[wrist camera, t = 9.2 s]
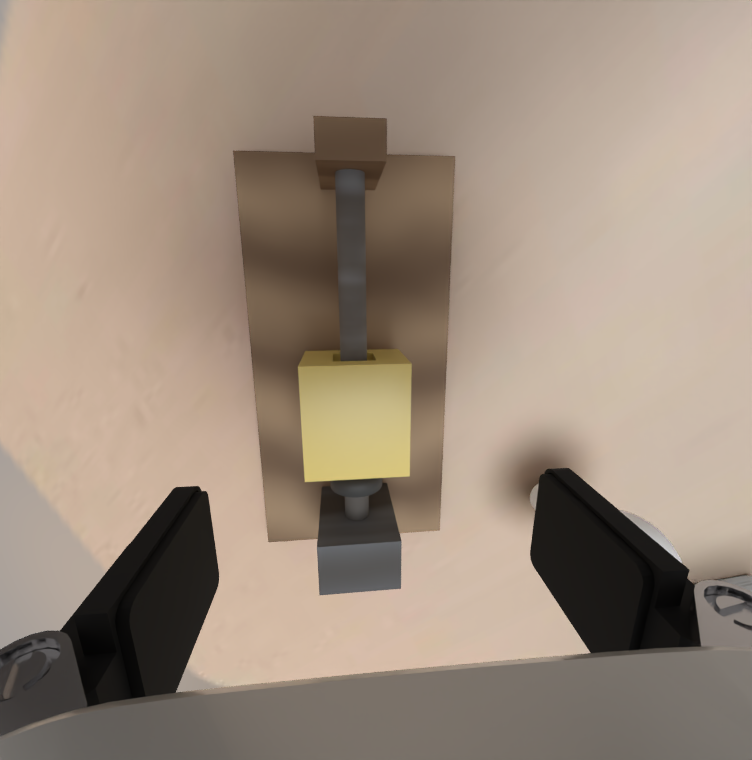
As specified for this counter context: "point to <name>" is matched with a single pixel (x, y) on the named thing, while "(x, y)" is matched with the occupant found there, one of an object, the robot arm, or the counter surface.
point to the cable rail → (347, 328)
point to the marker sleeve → (355, 415)
